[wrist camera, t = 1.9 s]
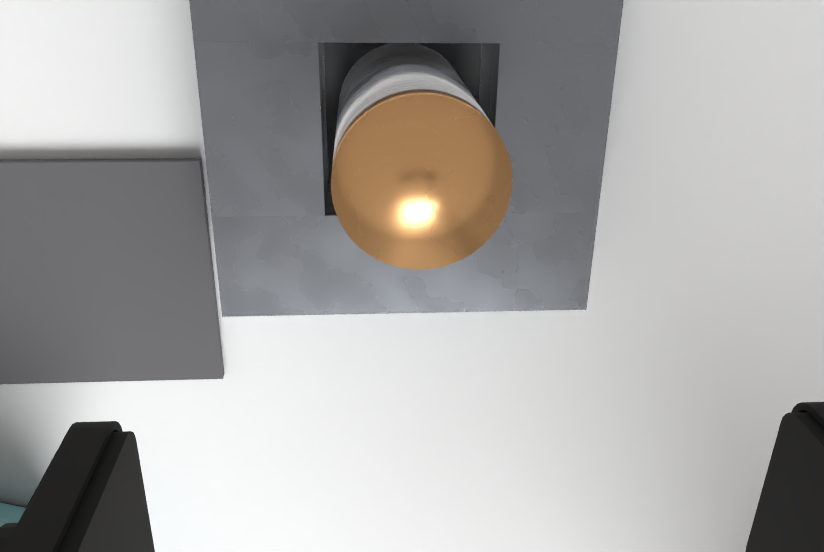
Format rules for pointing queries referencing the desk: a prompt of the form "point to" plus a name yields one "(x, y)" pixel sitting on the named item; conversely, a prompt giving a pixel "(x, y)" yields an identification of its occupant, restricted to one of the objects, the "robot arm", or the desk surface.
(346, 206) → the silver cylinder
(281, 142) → the housing
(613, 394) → the desk surface
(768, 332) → the desk surface
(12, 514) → the flower pot
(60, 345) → the mat
